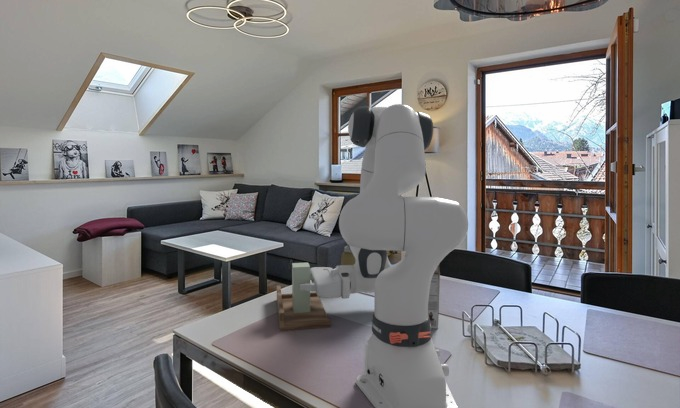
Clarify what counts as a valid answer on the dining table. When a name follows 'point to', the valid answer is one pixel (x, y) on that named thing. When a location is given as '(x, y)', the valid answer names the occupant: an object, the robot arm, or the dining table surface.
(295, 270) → the sage block
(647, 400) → the dining table surface
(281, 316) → the tray
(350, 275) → the robot arm
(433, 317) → the coffee box
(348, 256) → the squeeze bottle
